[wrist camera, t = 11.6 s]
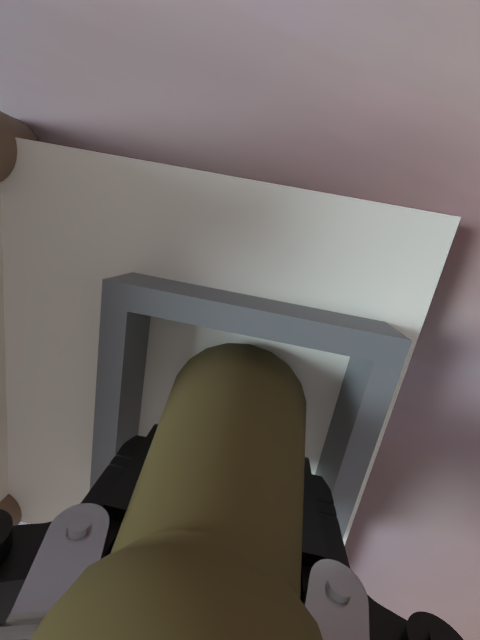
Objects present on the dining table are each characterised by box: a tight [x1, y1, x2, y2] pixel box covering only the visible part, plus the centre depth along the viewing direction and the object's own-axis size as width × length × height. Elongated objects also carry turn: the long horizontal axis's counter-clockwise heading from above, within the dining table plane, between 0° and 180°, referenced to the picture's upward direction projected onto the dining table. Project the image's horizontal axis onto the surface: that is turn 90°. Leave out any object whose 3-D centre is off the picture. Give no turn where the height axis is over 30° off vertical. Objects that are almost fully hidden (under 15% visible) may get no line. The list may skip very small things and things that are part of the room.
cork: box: [30, 343, 323, 640], centre depth 8 cm, size 6×6×11 cm
